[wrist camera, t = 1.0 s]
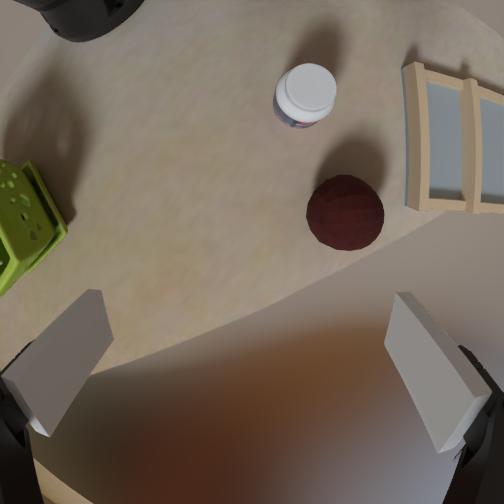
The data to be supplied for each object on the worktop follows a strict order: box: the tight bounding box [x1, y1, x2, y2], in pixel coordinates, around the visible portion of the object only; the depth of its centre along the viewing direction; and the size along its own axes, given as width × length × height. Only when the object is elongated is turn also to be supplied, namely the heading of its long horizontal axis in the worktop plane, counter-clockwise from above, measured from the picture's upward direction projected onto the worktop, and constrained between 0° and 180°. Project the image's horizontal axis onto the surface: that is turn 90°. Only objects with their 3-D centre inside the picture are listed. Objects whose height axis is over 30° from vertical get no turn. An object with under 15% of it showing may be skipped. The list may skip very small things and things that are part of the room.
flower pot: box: [0, 160, 68, 298], centre depth 27 cm, size 14×14×13 cm
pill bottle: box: [273, 63, 337, 129], centre depth 23 cm, size 5×5×9 cm
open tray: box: [401, 62, 504, 214], centre depth 26 cm, size 16×21×4 cm
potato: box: [306, 175, 384, 251], centre depth 28 cm, size 7×8×7 cm
